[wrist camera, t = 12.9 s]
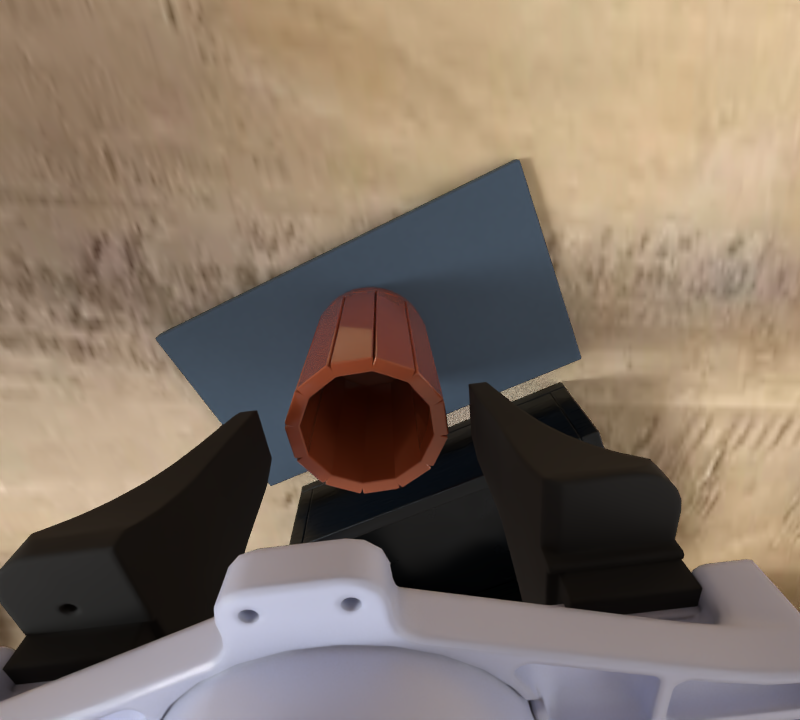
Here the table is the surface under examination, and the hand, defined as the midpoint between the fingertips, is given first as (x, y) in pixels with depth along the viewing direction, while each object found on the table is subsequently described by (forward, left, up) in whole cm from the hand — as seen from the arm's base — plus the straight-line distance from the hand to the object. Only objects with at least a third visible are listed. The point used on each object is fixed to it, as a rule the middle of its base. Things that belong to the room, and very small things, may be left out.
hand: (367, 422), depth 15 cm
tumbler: (0, 0, -7) cm, 7 cm away
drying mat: (0, 0, -7) cm, 7 cm away
